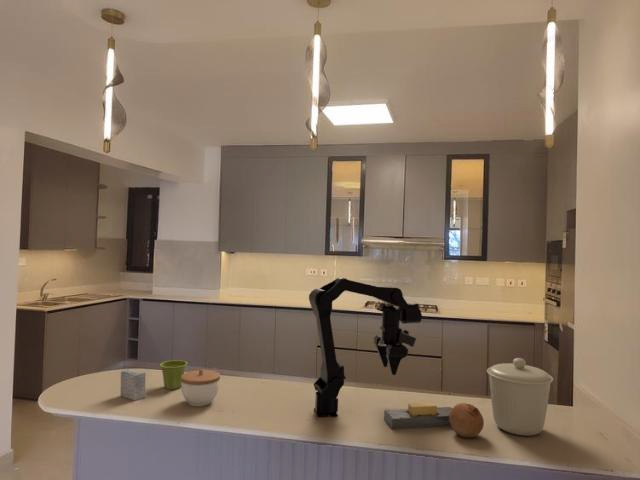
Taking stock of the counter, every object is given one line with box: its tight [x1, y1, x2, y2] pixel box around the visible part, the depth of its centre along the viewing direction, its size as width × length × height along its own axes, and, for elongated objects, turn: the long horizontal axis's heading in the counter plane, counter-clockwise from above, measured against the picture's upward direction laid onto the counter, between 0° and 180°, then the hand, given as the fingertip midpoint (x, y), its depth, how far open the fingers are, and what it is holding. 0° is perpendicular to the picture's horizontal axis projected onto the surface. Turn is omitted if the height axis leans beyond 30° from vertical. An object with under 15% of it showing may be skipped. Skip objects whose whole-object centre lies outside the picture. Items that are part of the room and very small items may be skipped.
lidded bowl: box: [181, 368, 221, 407], centre depth 148 cm, size 13×13×11 cm
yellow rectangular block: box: [407, 402, 438, 416], centre depth 136 cm, size 8×3×5 cm, turn 100°
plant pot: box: [159, 359, 188, 391], centre depth 163 cm, size 9×9×9 cm
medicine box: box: [120, 368, 147, 401], centre depth 152 cm, size 8×4×9 cm, turn 58°
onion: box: [449, 402, 485, 438], centre depth 128 cm, size 10×9×10 cm
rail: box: [383, 406, 453, 430], centre depth 136 cm, size 22×7×3 cm, turn 100°
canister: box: [486, 357, 554, 437], centre depth 133 cm, size 18×18×21 cm
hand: (389, 370), depth 149 cm, fingers open, 9 cm apart
